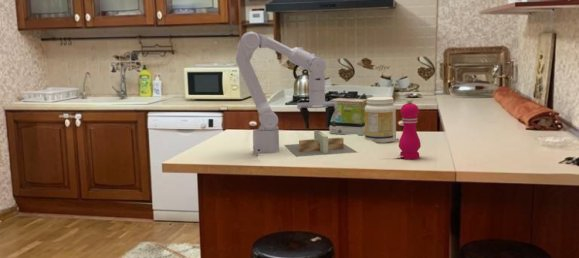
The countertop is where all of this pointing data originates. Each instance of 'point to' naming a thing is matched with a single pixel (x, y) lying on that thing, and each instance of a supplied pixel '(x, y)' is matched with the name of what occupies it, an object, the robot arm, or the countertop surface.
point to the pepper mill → (409, 132)
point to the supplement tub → (380, 120)
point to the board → (295, 150)
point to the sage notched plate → (322, 141)
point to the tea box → (348, 116)
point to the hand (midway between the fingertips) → (317, 127)
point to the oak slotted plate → (314, 146)
